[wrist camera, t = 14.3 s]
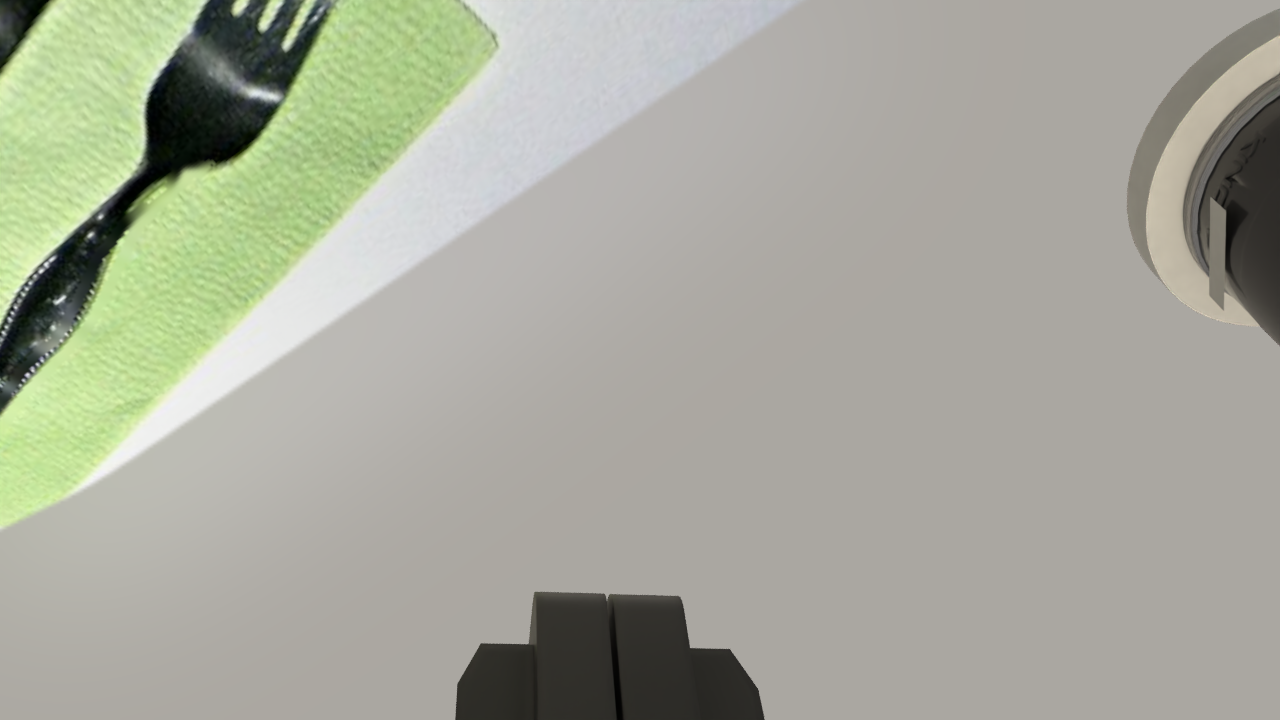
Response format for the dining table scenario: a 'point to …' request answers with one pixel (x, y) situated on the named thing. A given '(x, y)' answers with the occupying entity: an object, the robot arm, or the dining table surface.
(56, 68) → the dining table surface
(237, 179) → the dining table surface
